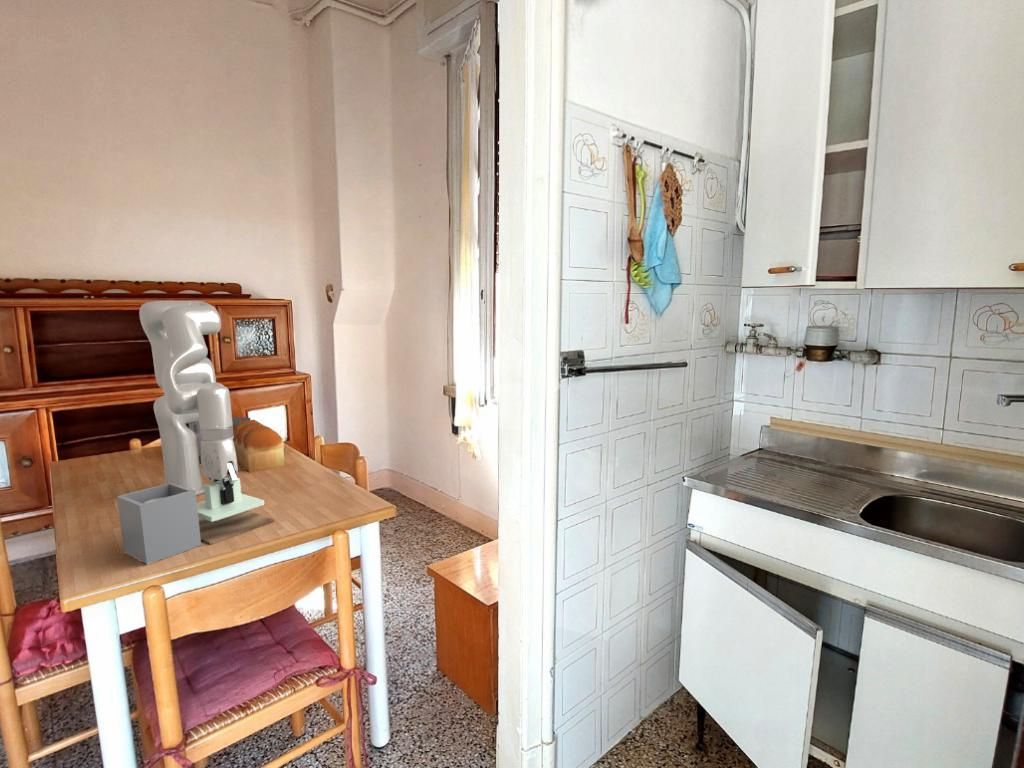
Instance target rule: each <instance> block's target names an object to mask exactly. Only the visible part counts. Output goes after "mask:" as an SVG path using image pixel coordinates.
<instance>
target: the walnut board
mask: <svg viewBox="0 0 1024 768" xmlns="http://www.w3.org/2000/svg"><path fill="white" fill-rule="evenodd" d="M272 523H275V519H274V518H271V517H267V516H264V515H262V514H259V513H256V512H253V511H251V510H248V511H245V512H242V513H239V514H236V515H232V516H229V517H226V518H223V519H220V520H217V521H213V522H211V521H208V520H205V519H203V518H202V519H200V520H199V529H200V538H201V540H203V541H205V542H207V543H206V544H208V543H209V544H208V545H210V544H212V543H214V544H217V543H220V542H223V541H225V540H228V539H231V538H233V537H236V536H238V535H241V534H243V533H247V532H251V531H253V530H255V528H256V529H258V528H260V527H264V526H266V525H269V524H272ZM222 540H223V541H222ZM203 541H202V542H203ZM205 542H204V543H205ZM216 542H217V543H216ZM212 545H213V544H212Z"/></svg>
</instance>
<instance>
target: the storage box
mask: <svg viewBox="0 0 1024 768" xmlns="http://www.w3.org/2000/svg"><path fill="white" fill-rule="evenodd" d="M156 498H162V499H158V500H154V501H151V502H147V503H145V502H146V501H149V500H152V499H156ZM116 500H117V509H118V515H119V517H118V518H119V523H120V532H121V539H122V547H123V553H124V552H126V553H128V554H129V555H131V556H133V557H135V558H137V559H139V560H141V561H143V562H145V563H146V564H148V563H151V562H154V561H157V560H160V559H163V560H165V559H164V558H166V559H168V558H171V557H174V556H176V554H177V555H179V553H180V554H182V553H184V551H185V552H188V551H190V549H191V550H193V549H196V548H198V547H197V546H199V547H201V546H202V541H201V538H200V529H199V521H200V520H199V517H198V510H197V503H198V501H197V495H196V491H195V490H193V489H190V488H187V487H184V486H181V485H178V484H175V483H172V482H171V483H167V484H166V483H165V484H158V485H156V486H152V487H148V488H147V487H146V488H144V489H141V490H136V491H132V492H128V493H125V494H121V495H118V496H116ZM200 545H201V546H200ZM195 547H196V548H195ZM187 550H188V551H187ZM129 555H128V556H129ZM131 556H130V557H131ZM170 556H171V557H170ZM133 557H132V558H133ZM167 557H168V558H167ZM135 558H134V559H135ZM160 561H161V560H160ZM157 562H158V561H157ZM146 564H145V565H146Z"/></svg>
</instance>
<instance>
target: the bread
mask: <svg viewBox="0 0 1024 768" xmlns="http://www.w3.org/2000/svg"><path fill="white" fill-rule="evenodd" d="M233 433H234V438H233V442H234V446H235V451H236V457H237V462H238V463H239V464H238V463H237V464H238V465H240V466H241V465H242V466H243V467H244V468H243V467H242V466H241V467H242V468H243V469H244V470H246V471H247V470H248V471H249V472H248V471H247V472H248V473H250V474H252V473H251V472H253V473H256V472H255V471H258V472H262V471H261V470H263V471H267V470H266V469H268V470H271V468H273V469H276V468H275V467H278V468H280V467H279V466H283V465H285V462H286V461H285V450H284V448H285V443H284V440H283V438H282V437H281V435H280V434H279V433H278V432H277V431H275V430H274V429H272V428H271V427H269V426H267V425H264V424H262V423H260V422H259V421H258V420H255V419H250V420H247V421H241V422H239V423H238V424H237V425H236V426H235V427H234V428H233ZM285 466H286V465H285Z"/></svg>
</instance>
